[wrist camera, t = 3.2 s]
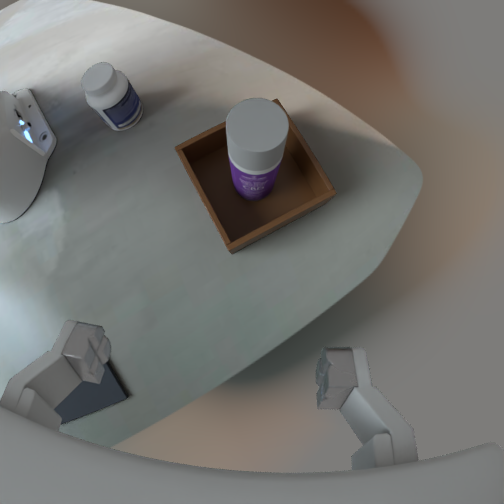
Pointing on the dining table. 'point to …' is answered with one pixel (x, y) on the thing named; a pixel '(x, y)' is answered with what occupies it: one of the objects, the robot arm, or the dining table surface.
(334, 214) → the dining table surface
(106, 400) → the pad
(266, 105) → the container
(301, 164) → the wooden tray
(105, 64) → the pill bottle
